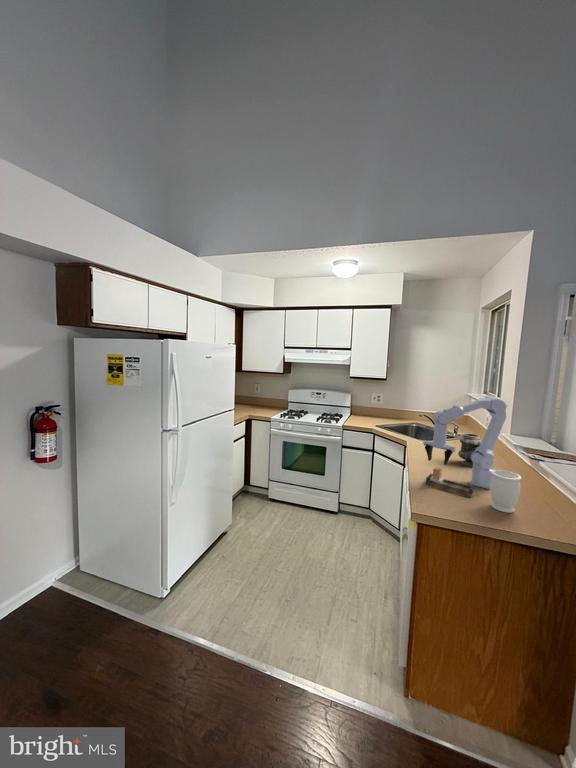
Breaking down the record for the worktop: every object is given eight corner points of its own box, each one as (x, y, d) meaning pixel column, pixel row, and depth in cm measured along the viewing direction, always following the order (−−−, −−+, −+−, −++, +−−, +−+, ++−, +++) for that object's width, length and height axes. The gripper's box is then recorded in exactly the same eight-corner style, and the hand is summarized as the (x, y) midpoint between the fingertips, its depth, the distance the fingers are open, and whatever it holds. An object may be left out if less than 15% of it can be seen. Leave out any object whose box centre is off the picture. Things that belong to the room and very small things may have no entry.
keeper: (443, 481, 156) (444, 468, 156) (440, 484, 153) (441, 471, 152) (432, 478, 160) (433, 465, 159) (429, 481, 156) (430, 468, 155)
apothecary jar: (481, 463, 189) (483, 434, 187) (480, 469, 178) (483, 438, 177) (458, 459, 195) (460, 431, 193) (456, 465, 185) (459, 435, 183)
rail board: (475, 491, 149) (475, 484, 149) (471, 498, 143) (471, 490, 142) (430, 479, 162) (431, 473, 162) (425, 485, 155) (425, 478, 155)
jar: (518, 517, 127) (522, 481, 125) (488, 509, 132) (491, 475, 130) (516, 506, 136) (520, 472, 134) (488, 500, 141) (491, 467, 139)
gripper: (422, 433, 159) (419, 459, 161) (452, 440, 149) (450, 468, 150) (427, 431, 164) (425, 457, 165) (457, 438, 154) (455, 465, 155)
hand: (437, 462), depth 158 cm, fingers open, 7 cm apart
